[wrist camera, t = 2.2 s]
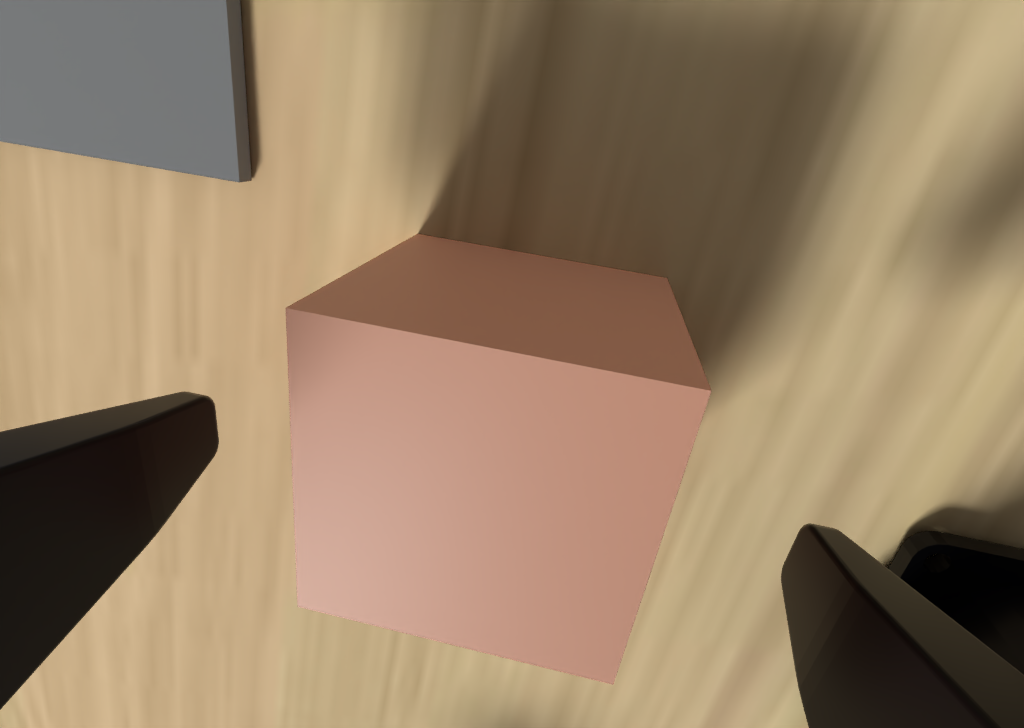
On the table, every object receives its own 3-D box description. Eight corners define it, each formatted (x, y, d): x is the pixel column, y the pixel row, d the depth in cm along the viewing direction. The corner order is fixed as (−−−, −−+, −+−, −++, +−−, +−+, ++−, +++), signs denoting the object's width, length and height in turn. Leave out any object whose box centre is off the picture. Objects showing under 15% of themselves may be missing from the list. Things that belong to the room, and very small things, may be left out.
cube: (666, 276, 10) (711, 391, 6) (611, 484, 13) (613, 684, 8) (419, 233, 11) (285, 308, 6) (405, 440, 13) (297, 606, 8)
